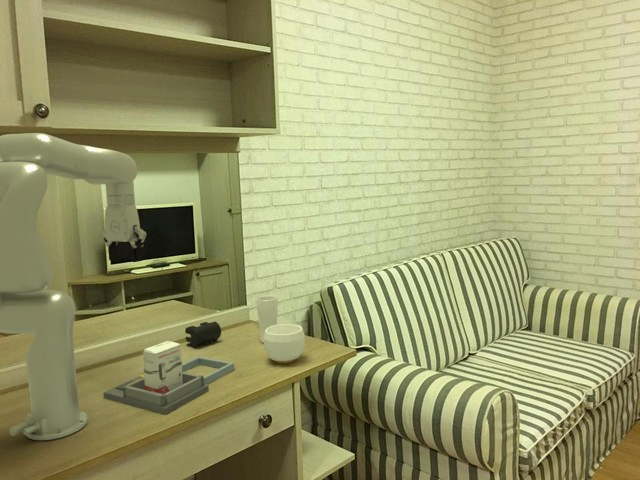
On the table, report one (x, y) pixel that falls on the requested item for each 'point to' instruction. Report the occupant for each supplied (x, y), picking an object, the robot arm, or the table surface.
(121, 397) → the dock
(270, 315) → the drinking glass
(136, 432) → the table surface
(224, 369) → the blue-grey square frame
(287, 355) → the cup
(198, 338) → the end cap
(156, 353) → the ink box
